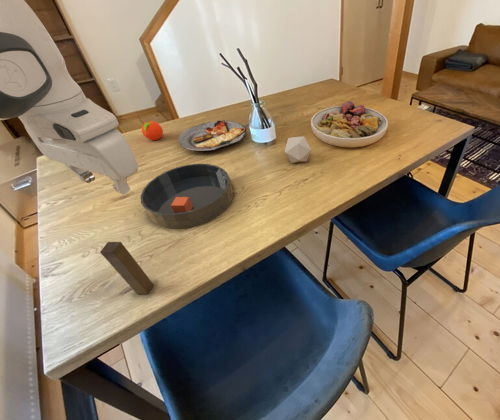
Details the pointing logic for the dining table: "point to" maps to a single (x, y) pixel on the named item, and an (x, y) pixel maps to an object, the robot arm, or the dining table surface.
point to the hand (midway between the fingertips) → (106, 186)
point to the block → (181, 204)
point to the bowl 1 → (188, 195)
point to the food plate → (212, 135)
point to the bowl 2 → (349, 125)
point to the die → (297, 149)
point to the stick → (127, 267)
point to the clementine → (152, 130)
